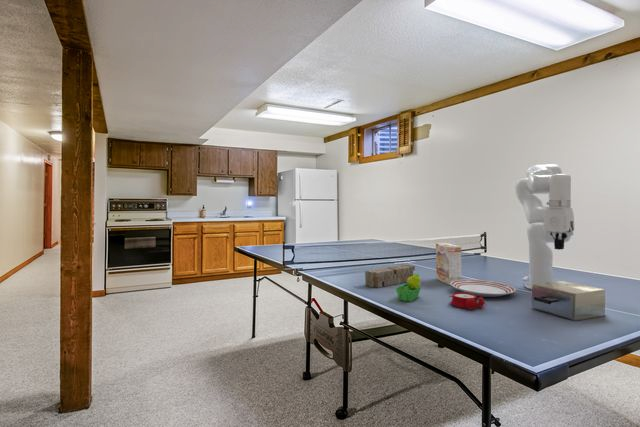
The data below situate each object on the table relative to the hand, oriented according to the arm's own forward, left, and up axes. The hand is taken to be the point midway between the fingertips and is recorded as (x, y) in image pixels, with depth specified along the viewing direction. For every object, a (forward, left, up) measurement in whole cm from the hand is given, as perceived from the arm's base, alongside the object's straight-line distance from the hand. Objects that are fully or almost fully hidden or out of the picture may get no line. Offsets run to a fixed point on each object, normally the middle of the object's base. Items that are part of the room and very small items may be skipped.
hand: (559, 249), depth 149 cm
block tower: (-58, -44, -22) cm, 76 cm away
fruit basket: (-28, -53, -22) cm, 64 cm away
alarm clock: (-10, -38, -22) cm, 45 cm away
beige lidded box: (+10, -9, -22) cm, 26 cm away
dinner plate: (-25, -16, -22) cm, 37 cm away
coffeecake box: (-49, -15, -22) cm, 56 cm away
